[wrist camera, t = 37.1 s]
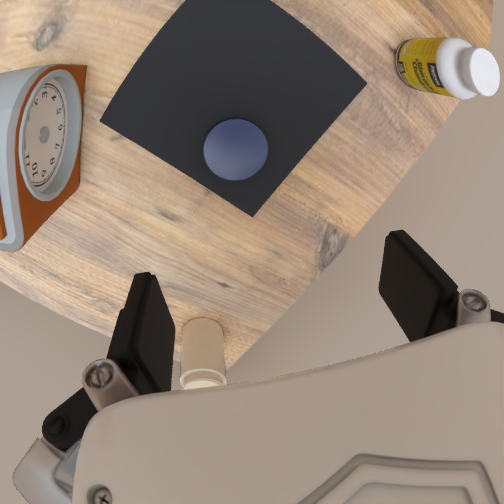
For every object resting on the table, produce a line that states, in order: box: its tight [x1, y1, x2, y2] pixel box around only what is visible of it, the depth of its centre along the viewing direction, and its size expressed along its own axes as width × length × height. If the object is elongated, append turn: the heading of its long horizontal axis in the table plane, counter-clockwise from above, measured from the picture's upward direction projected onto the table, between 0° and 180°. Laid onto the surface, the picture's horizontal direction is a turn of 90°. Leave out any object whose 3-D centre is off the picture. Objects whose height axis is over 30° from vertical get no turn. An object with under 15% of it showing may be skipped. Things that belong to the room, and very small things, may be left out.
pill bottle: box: [396, 38, 500, 99], centre depth 21 cm, size 6×6×12 cm
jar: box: [180, 318, 227, 390], centre depth 39 cm, size 6×6×10 cm
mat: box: [100, 0, 367, 217], centre depth 26 cm, size 20×20×1 cm
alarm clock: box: [0, 64, 86, 252], centre depth 20 cm, size 15×8×14 cm, turn 169°
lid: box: [203, 117, 268, 181], centre depth 29 cm, size 6×6×2 cm
